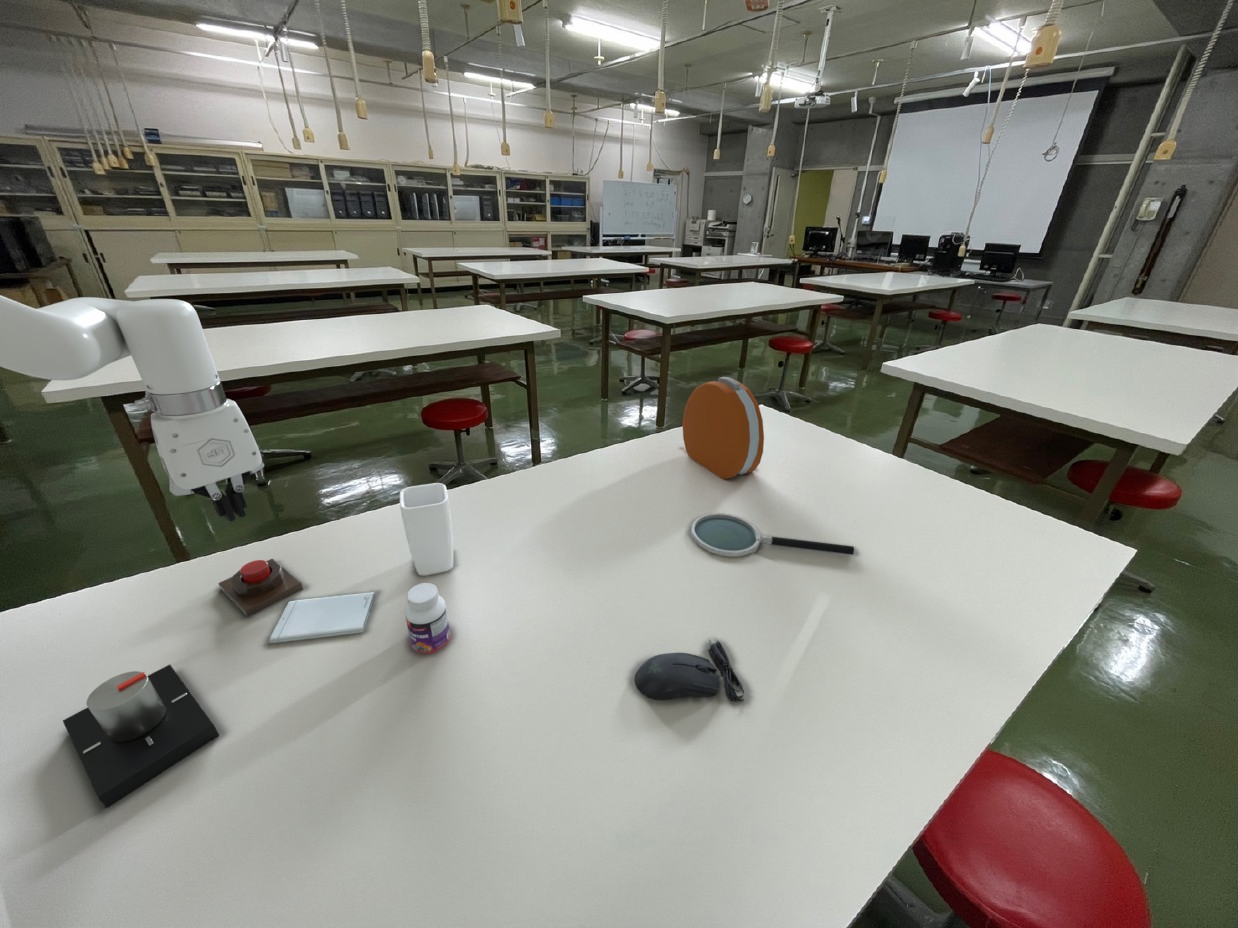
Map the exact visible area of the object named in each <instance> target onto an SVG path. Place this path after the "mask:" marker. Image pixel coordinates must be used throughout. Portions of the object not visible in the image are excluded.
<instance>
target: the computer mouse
mask: <svg viewBox="0 0 1238 928" xmlns="http://www.w3.org/2000/svg"><path fill="white" fill-rule="evenodd" d="M708 642H709V644H710V646H709V648H708V649H707V652H708V655H709V656H710V658H711V660H712V662H713V663H711V661H710V660H709V659H708V658H705V657H702V656H699V655H696V654H692V653H687V652H669V653H661V654H656V655H654V656H652V657H650V658H648V659H647V660H645V662H643V663H642V664H641V665H640V667H639V668H638V669H637V671H636V672H635V675H634V685H635V688H636V689H637V690H638V691H639V692H640V693H641V694H642V695H643V696H645V697H646V698H648V699H651V700H654V701H670V700H674V699H675V700H677V699H682V698H709V697H713V696H715V695H716V694H717V693H718V691H719V689H720V680H721V679H720V677H722V678H723V682H724V685H723V687H724V691H725V695H726V697H727V699H729V701H730V702H734V703H735V702H744V700H745V699H744V698H743V697H744V695H745V694H744V693H745V691H744V687H743V684H742V682H741V681H740V679H739V677H738V676H737V675H736V672H735V671H734V668H732V666H731V664H730V663H731V662H730V660H729V656H728V654H727V652H726V650H725V648H724V647H723V645H722V643H721V642H720V641H719V640H716V639H713V638H711V637H710V638H709V639H708ZM718 671H719V673H720V674H721V675H719V674H716V672H718ZM734 685H735V686H736V687H739V689H737V688H735V687H734ZM741 691H742V695H738V694H737V693H740V692H741Z"/></svg>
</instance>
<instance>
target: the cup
mask: <svg viewBox="0 0 1238 928" xmlns="http://www.w3.org/2000/svg"><path fill="white" fill-rule="evenodd" d="M448 495H449V494H448V490H447V486H446V485H445V484H444V483H440V482H433V483H427V484H420V485H413V486H407V487H405V488H403V489H402V490H400V492H399V508H400V513H401V518H402V519H401V520H402V523H403V528H404V532H405V533H404V534H405V537H406V541H407V545H408V549H409V552H410V555H411V558H412V562H413V564H414V567H415V570H416V572H417V574H418V575H419V576H429V575H430V576H431V575H436V574H441V573H445V572H448V571H450V570H451V569H453V567H454V537H453V524H452V517H451V515H452V514H451V509H450V502H449V496H448Z"/></svg>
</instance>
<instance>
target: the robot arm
mask: <svg viewBox="0 0 1238 928" xmlns="http://www.w3.org/2000/svg"><path fill="white" fill-rule="evenodd" d="M127 357H131V358H132V360H133V363H134V365H135V367H136V369H137V372H138V374H139V377H140V378H141V379H140V380H141V381H142V383H143V386H144V389H145V391H144V392H145V395H144V397H142V398H141V399H137V400H134V404H135V406H136V408H137V410H138V411H139V412H141V411H152V413H151V414H150V424H151V429H152V435H153V439H154V442H155V447H156V449H157V452H158V456H159V460H160V461H161V464H162V467H163V470H164V472H165V474H166V476H167V477H168V479H169V483H168V484H169V493H171V494H172V495H174V496H175V497H181V496H189V495H190V496H191V495H194V494H195V495H199V496H202V497H206V498H208V499H210V500H211V503H212V505H213V508H214V510H215V512H216V514H217V516H218V517H219V518H221V517H223V518H225V519H226V520H228V521H229V522H230V523H232V522H235V520H237V519H236V516H237V517H239V518H244V517H246V516H247V515H246V512H245V510H244V509H246V508H248V505H247V502H246V500H245V497H244V494H243V491H244V489H245V484H246V483H247V482H248V480H249V479H250V477H251V475H254V474H255V473H257V472H259V471H260V470H262V469H264V467H265V463H264V462H263V459H262V455H261V452H260V449H259V446H258V444H257V442H256V439H255V437H254V435H253V432H252V431H251V428H250V426H249V424H248V421H247V420H246V417H245V416H244V414H243V412H242V410H241V409H240V406H238V404H237V402H236V401H235V400H232V399H230V398H227V396H226V393H225V390H224V387H223V385H222V381H221V378H220V376H219V373H218V371H217V367H216V364H215V362H214V361H215V360H214V358H213V355H212V353H211V350H210V347H209V344H208V341H207V338H206V334H205V332H204V329H203V326H202V324H201V321H200V318H199V315H198V313H197V310H195V308H194V306H193V305H192V304H191V303H189V302H187V301H184V300H181V299H174V298H152V299H150V298H149V299H142V300H125V299H123V300H122V299H113V298H105V297H92V296H91V297H89V296H86V297H85V296H84V297H83V296H82V297H74V298H68V299H66V300H63V301H59V302H55V303H52V304H49V305H45V306H42V307H39V308H35V307H32V306H29V305H26V304H23V303H21V302H19V301H16V300H13V299H11V298H8V297H7V296H3V295H0V368H3V369H6V370H9V371H13V372H16V373H18V374H22V375H26V376H29V377H34V378H39V379H44V380H50V381H73V380H74V381H75V380H79V379H83V378H84V377H88V376H90V375H91V374H93V373H95V372H97V371H99V370H101V369H103V368H104V367H106V366H108V365H110V364H112V363H114V362H118V361H120V360H122V359H126V358H127ZM224 480H225V484H226V485H225V487H224V490H223V491H224V492H223V491H221V490H220V489H219V487H218V485H217V482H221V481H224ZM235 515H236V516H235Z"/></svg>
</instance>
